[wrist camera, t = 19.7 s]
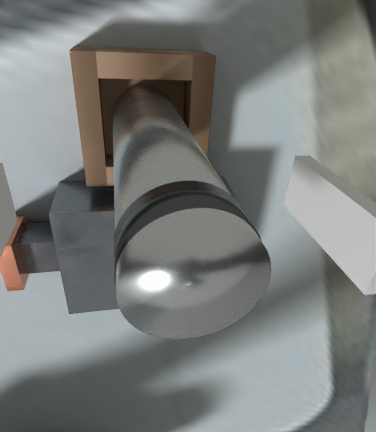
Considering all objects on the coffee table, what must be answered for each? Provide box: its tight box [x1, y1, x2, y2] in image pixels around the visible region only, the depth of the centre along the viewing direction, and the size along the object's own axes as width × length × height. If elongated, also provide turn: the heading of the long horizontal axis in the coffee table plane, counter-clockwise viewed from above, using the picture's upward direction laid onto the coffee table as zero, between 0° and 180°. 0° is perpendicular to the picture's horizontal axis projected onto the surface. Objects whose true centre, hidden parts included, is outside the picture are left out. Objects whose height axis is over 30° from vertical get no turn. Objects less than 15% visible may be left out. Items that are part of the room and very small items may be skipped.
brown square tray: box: [70, 46, 216, 187], centre depth 23 cm, size 9×9×3 cm
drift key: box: [0, 216, 60, 291], centre depth 27 cm, size 8×4×4 cm, turn 87°
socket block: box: [49, 177, 241, 314], centre depth 28 cm, size 14×10×5 cm
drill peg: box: [113, 85, 271, 339], centre depth 17 cm, size 5×5×18 cm
